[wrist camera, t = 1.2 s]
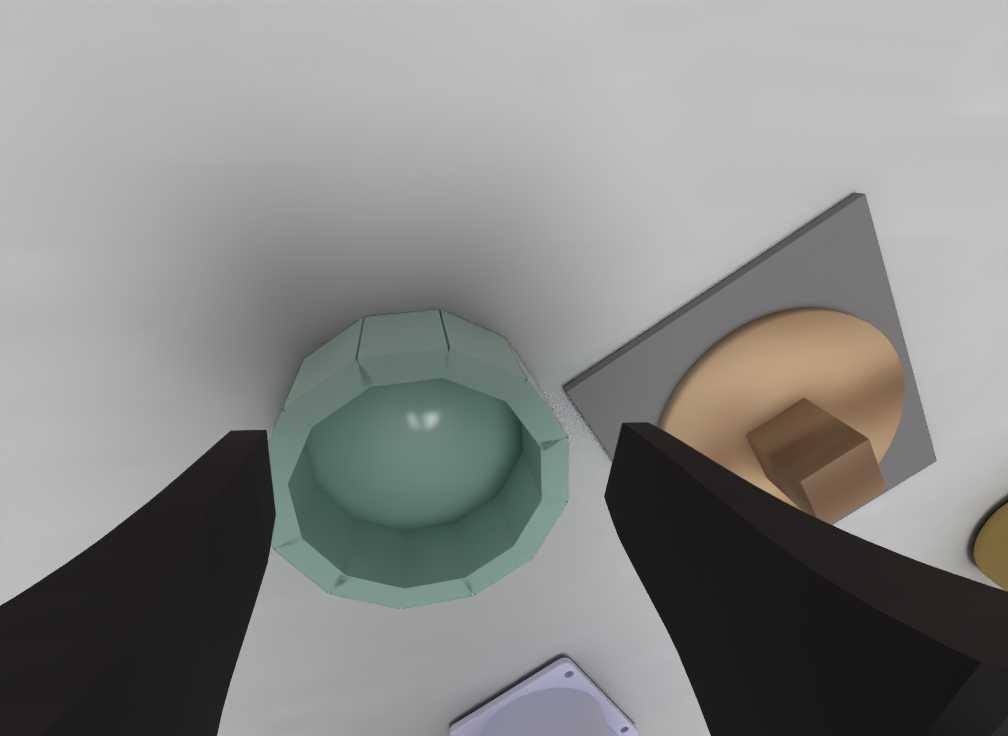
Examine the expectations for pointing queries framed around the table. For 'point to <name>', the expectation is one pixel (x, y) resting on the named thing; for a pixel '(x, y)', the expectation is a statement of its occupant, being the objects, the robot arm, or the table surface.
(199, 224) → the table surface
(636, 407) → the mat
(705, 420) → the lid
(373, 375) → the bowl
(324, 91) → the table surface
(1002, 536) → the bark log
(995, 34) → the table surface
